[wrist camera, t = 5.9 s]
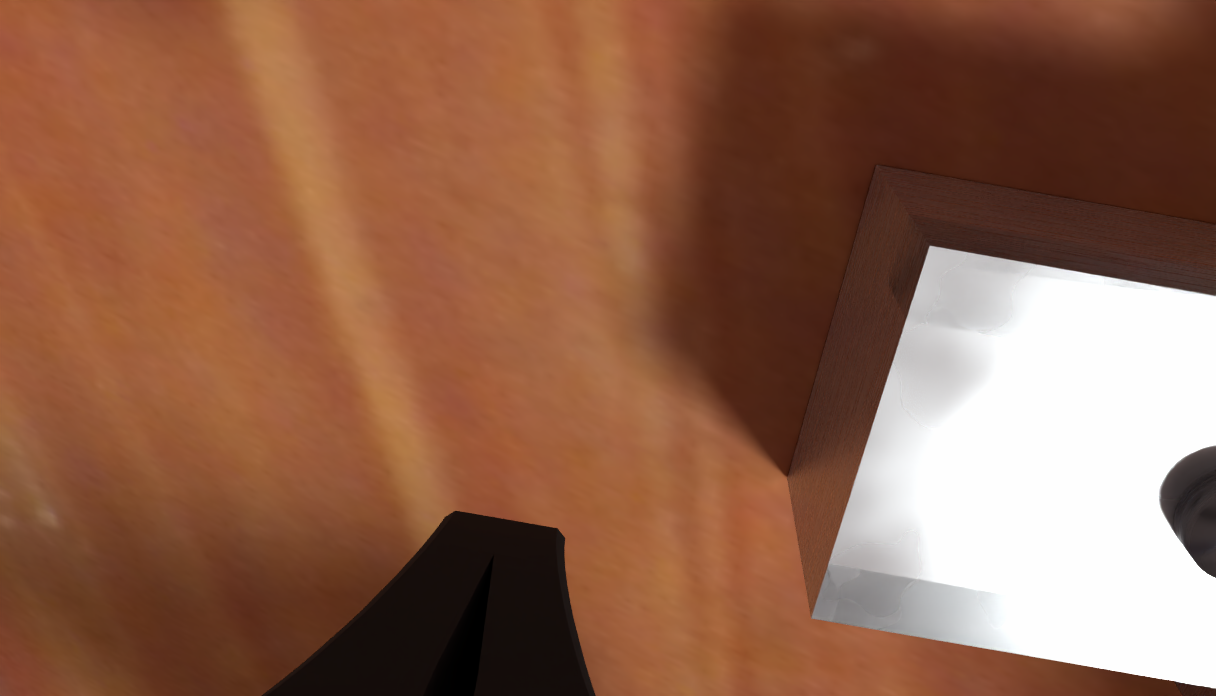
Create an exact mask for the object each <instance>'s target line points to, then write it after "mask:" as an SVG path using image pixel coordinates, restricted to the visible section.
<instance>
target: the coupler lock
mask: <svg viewBox="0 0 1216 696" xmlns="http://www.w3.org/2000/svg"><path fill="white" fill-rule="evenodd" d="M787 481H788V486H789V492H790V498H791V504H792V510H793V515H794V521H795V527H796V533H797V539H798V545H799V550H800V556H801V562H802V568H803V574H804V579H805V585H806V591H807V597H808V603H809V609H810V614H811V618H812V619H818V620H824V621H830V622H836V623H841V624H847V625H853V626H859V627H864V628H870V629H876V630H882V631H888V632H893V633H899V634H905V635H911V636H917V637H922V638H928V639H934V640H940V641H946V642H951V643H957V644H963V645H969V646H974V647H980V648H986V649H992V650H998V651H1003V652H1009V653H1015V654H1021V655H1027V656H1032V657H1038V658H1044V659H1050V660H1056V661H1061V662H1067V663H1073V664H1079V665H1085V666H1090V667H1096V668H1102V669H1108V670H1113V671H1119V672H1125V673H1131V674H1137V675H1142V676H1148V677H1154V678H1160V679H1166V680H1171V681H1177V682H1183V683H1189V684H1195V685H1200V686H1206V687H1212V688H1216V224H1211V223H1205V222H1199V221H1194V220H1188V219H1182V218H1177V217H1171V216H1165V215H1160V214H1154V213H1148V212H1143V211H1137V210H1131V209H1126V208H1120V207H1114V206H1109V205H1103V204H1097V203H1092V202H1086V201H1080V200H1075V199H1069V198H1063V197H1058V196H1052V195H1046V194H1041V193H1035V192H1029V191H1024V190H1018V189H1012V188H1007V187H1001V186H996V185H990V184H984V183H979V182H973V181H967V180H962V179H956V178H950V177H945V176H939V175H933V174H928V173H922V172H916V171H911V170H905V169H899V168H894V167H888V166H882V165H877V164H876V166H875V170H874V174H873V177H872V181H871V184H870V188H869V191H868V195H867V198H866V202H865V205H864V209H863V212H862V216H861V219H860V223H859V227H858V230H857V234H856V237H855V241H854V244H853V248H852V251H851V255H850V258H849V262H848V265H847V269H846V272H845V276H844V280H843V283H842V287H841V290H840V294H839V297H838V301H837V304H836V308H835V311H834V315H833V318H832V322H831V325H830V329H829V333H828V336H827V340H826V343H825V347H824V350H823V354H822V357H821V361H820V364H819V368H818V371H817V375H816V378H815V382H814V386H813V389H812V393H811V396H810V400H809V403H808V407H807V410H806V414H805V417H804V421H803V424H802V428H801V431H800V435H799V439H798V442H797V446H796V449H795V453H794V456H793V460H792V463H791V467H790V470H789V474H788V477H787Z"/></svg>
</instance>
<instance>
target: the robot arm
mask: <svg viewBox="0 0 1216 696" xmlns="http://www.w3.org/2000/svg"><path fill="white" fill-rule="evenodd" d="M564 545H565V537H564V536H563V535H562V534H561V532H560V531H559V530H558V528H552V527H546V526H541V525H535V524H529V523H523V522H518V521H512V520H506V519H500V518H495V517H489V516H483V515H477V514H472V513H466V512H460V511H454V512H453V513H451V514H449V515H448V516H446V517H445V518H444V519H443V521H442V522H441V523H440V525H439V526H438V528H437V529H436V530H435V531H434V533H433V534H432V535H431V536H430V538H429V539H428V540H427V541H426V542H425V544H424V545H423V546H422V547H421V548H420V550H419V551H418V552H417V553H416V554H415V555H414V556H413V558H412V559H411V560H410V561H409V562H408V563H407V564H406V565H405V566H404V567H403V569H402V570H401V571H400V572H399V573H398V574H397V575H396V576H395V577H394V578H393V579H392V580H391V581H390V582H389V583H388V584H387V585H386V586H385V587H384V588H383V589H382V590H381V591H380V592H379V593H378V594H377V595H376V596H375V597H374V598H373V599H372V600H371V602H370V603H369V604H368V605H367V606H366V607H365V608H364V609H363V610H362V611H361V612H360V613H358V614H357V615H356V616H355V617H354V618H353V619H352V620H351V621H350V622H349V623H348V624H347V625H346V626H344V627H343V628H342V629H341V630H340V631H339V632H338V633H336V634H335V635H334V636H333V637H332V638H331V639H330V640H329V641H327V642H326V643H325V644H324V645H323V646H322V647H321V648H320V649H318V650H317V651H316V652H315V653H314V654H313V655H312V656H311V657H309V658H308V659H307V660H306V661H305V662H304V663H302V664H301V665H300V666H299V667H298V668H296V669H295V670H294V671H293V672H291V673H290V674H289V675H288V676H286V677H285V678H284V679H283V680H281V681H280V682H279V683H278V684H276V685H275V686H274V687H272V688H271V689H270V690H269V691H267V692H266V693H264V694H263V695H262V696H595V693H594V690H593V687H592V684H591V681H590V677H589V674H588V671H587V668H586V664H585V661H584V657H583V653H582V650H581V646H580V642H579V638H578V634H577V631H576V627H575V623H574V618H573V614H572V609H571V604H570V598H569V592H568V587H567V580H566V572H565V560H564Z"/></svg>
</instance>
